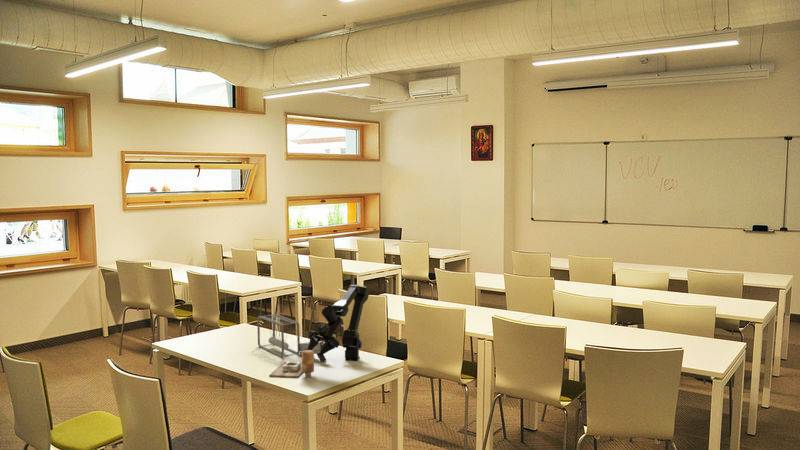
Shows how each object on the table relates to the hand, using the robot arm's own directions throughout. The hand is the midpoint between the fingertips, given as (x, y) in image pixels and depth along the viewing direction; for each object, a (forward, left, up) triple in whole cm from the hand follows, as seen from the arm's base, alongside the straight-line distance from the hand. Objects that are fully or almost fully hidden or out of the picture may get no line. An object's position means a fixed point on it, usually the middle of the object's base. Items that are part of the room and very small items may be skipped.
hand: (313, 353), depth 287 cm
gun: (+9, -28, -11) cm, 31 cm away
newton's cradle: (+31, -39, -11) cm, 51 cm away
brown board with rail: (+13, -6, -10) cm, 18 cm away
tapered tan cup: (+2, +2, -10) cm, 11 cm away
